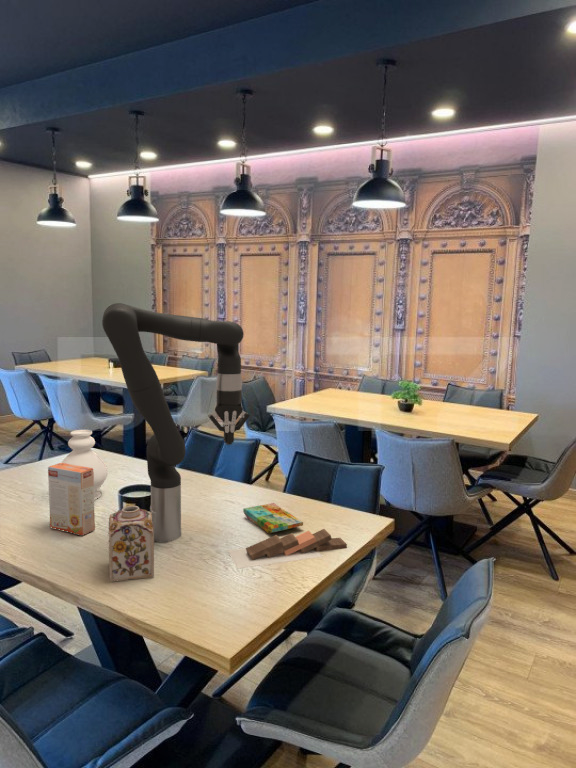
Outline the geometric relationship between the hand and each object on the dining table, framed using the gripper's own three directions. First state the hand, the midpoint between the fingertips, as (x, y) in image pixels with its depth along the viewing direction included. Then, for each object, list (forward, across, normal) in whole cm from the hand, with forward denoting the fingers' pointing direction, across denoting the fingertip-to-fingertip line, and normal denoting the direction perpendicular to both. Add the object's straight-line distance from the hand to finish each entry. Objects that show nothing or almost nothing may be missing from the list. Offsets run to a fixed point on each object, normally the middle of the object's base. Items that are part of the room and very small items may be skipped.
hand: (228, 443), depth 172 cm
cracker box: (+31, +46, -22) cm, 60 cm away
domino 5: (+30, -23, +14) cm, 40 cm away
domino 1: (+30, -3, +14) cm, 33 cm away
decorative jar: (+31, +30, +12) cm, 45 cm away
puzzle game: (+32, -17, -8) cm, 37 cm away
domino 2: (+30, -8, +14) cm, 34 cm away
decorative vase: (+31, +43, -53) cm, 75 cm away
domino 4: (+30, -18, +14) cm, 38 cm away
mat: (+31, -11, +14) cm, 36 cm away
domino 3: (+30, -13, +14) cm, 36 cm away
